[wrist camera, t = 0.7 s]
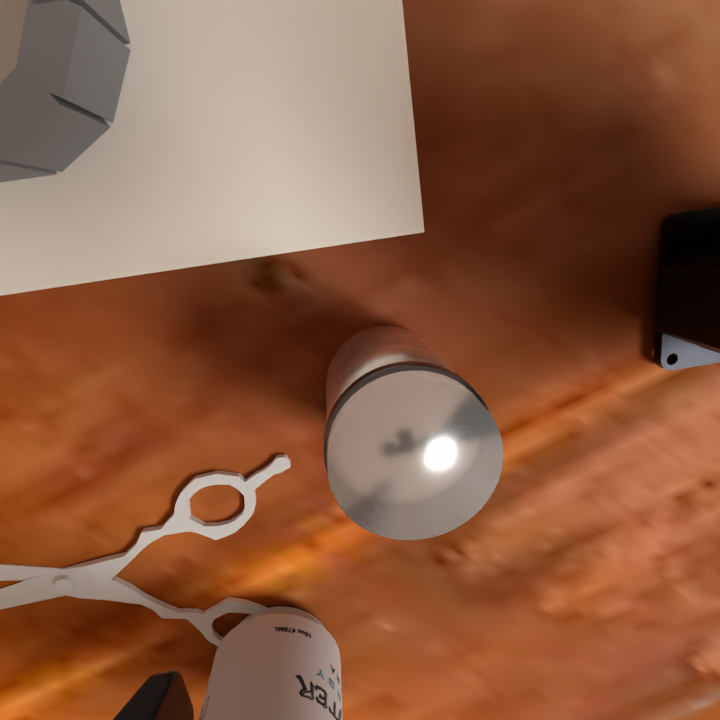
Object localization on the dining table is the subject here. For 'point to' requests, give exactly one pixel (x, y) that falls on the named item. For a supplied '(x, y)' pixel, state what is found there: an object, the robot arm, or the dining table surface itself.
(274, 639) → the energy drink can
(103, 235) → the plate
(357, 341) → the piston
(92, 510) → the dining table surface
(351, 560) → the dining table surface
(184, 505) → the scissors
